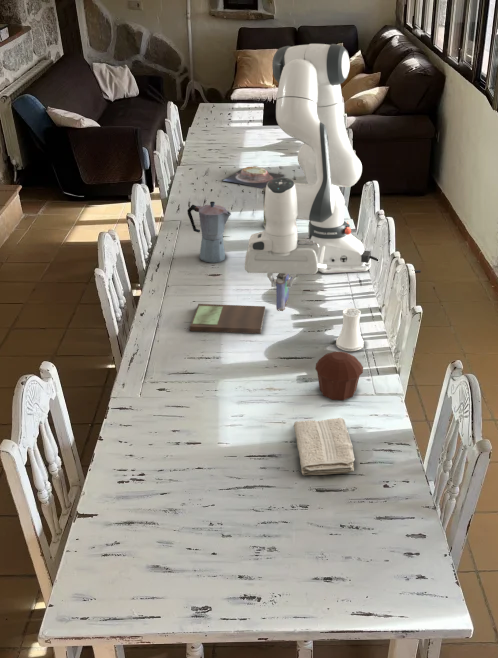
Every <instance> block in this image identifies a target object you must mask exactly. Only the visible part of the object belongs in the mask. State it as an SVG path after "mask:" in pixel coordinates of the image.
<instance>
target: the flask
mask: <svg viewBox="0 0 498 658" xmlns="http://www.w3.org/2000/svg"><path fill="white" fill-rule="evenodd" d="M275 279H276V287H275V288H276V289H275V290H276V291H275V293H276V294H275V295H276V299H275V300H276V305H275V306H276V307H275V309H276V311H277V312H284V311H285V310H286V307H287V303H288V301H289V300H290V298H289V297H290V291H289V290H290V287H287V279H290V274H281V273H277V275H276V278H275Z"/></svg>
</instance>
